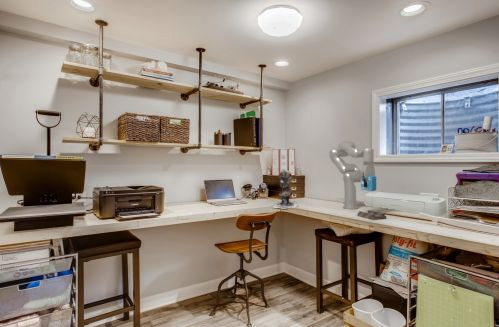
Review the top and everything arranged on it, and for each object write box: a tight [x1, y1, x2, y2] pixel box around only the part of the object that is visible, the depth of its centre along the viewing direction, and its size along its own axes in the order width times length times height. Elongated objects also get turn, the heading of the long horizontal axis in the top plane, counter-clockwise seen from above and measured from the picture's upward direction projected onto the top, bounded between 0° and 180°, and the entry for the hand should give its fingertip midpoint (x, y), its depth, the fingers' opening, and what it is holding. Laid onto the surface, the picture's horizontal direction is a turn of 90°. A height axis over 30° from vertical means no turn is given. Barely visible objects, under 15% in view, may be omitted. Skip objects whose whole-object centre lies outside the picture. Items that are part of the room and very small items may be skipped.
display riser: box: [356, 209, 387, 221], centre depth 212 cm, size 16×12×4 cm
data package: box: [360, 175, 377, 192], centre depth 230 cm, size 12×4×12 cm, turn 23°
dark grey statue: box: [271, 169, 299, 210], centre depth 266 cm, size 22×25×35 cm
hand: (368, 186), depth 230 cm, fingers closed on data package, 4 cm apart
